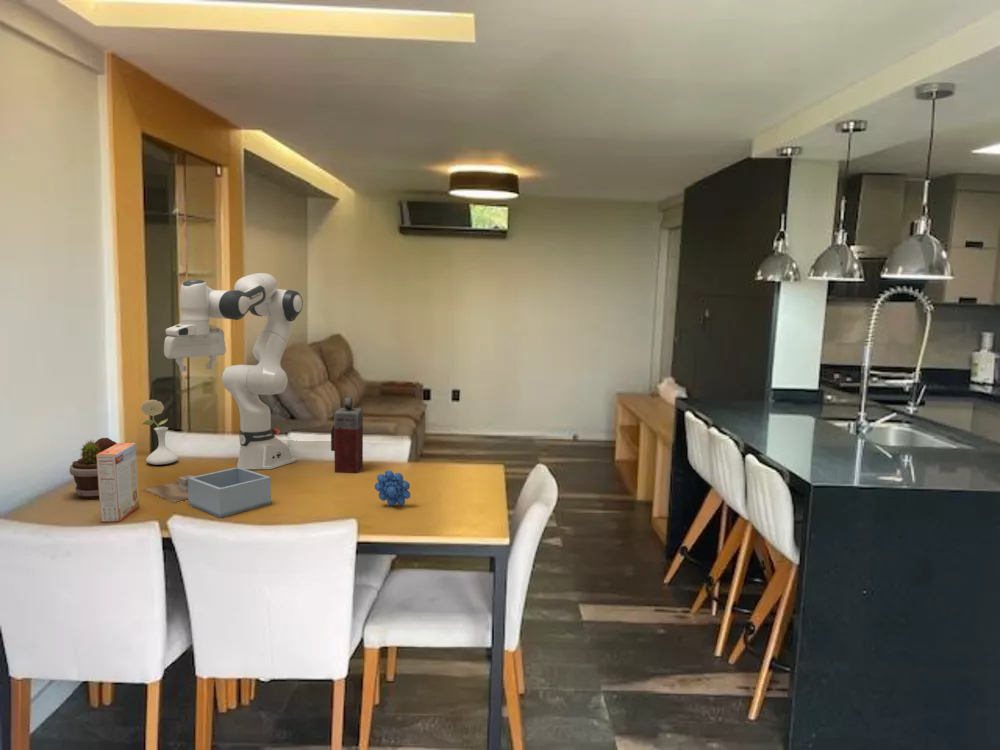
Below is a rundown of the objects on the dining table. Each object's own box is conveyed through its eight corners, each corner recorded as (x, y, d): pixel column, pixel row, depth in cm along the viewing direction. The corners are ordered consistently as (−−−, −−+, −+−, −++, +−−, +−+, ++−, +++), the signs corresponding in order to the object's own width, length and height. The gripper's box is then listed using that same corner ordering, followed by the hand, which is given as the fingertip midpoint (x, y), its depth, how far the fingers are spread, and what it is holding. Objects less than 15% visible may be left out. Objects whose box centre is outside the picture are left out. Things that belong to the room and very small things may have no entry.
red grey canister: (334, 466, 275) (333, 395, 271) (362, 467, 275) (362, 396, 271) (328, 472, 266) (327, 399, 262) (357, 473, 266) (357, 400, 262)
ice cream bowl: (122, 482, 247) (120, 440, 245) (87, 483, 244) (84, 441, 242) (130, 473, 257) (128, 433, 255) (96, 474, 255) (94, 434, 253)
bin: (239, 492, 239) (238, 466, 237) (271, 504, 228) (270, 477, 227) (188, 505, 225) (187, 478, 223) (220, 518, 214) (219, 489, 213)
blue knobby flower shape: (372, 510, 225) (372, 473, 223) (375, 503, 232) (375, 467, 230) (409, 510, 225) (409, 474, 224) (411, 503, 232) (411, 468, 230)
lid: (199, 480, 254) (199, 466, 253) (231, 491, 242) (230, 476, 241) (144, 492, 238) (143, 477, 237) (174, 505, 226) (174, 489, 225)
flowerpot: (84, 488, 239) (81, 430, 237) (130, 488, 240) (128, 431, 238) (60, 501, 225) (56, 440, 222) (110, 501, 226) (106, 441, 223)
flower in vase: (183, 459, 278) (180, 397, 275) (171, 467, 267) (169, 402, 264) (149, 459, 278) (146, 396, 274) (136, 466, 266) (133, 401, 263)
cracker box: (120, 507, 221) (116, 442, 218) (140, 507, 222) (137, 442, 219) (98, 522, 207) (95, 453, 204) (120, 522, 208) (116, 453, 205)
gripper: (218, 327, 245) (219, 366, 247) (160, 329, 229) (162, 371, 231) (228, 328, 241) (229, 368, 243) (170, 331, 225) (172, 373, 227)
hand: (196, 370), depth 237 cm, fingers open, 8 cm apart
